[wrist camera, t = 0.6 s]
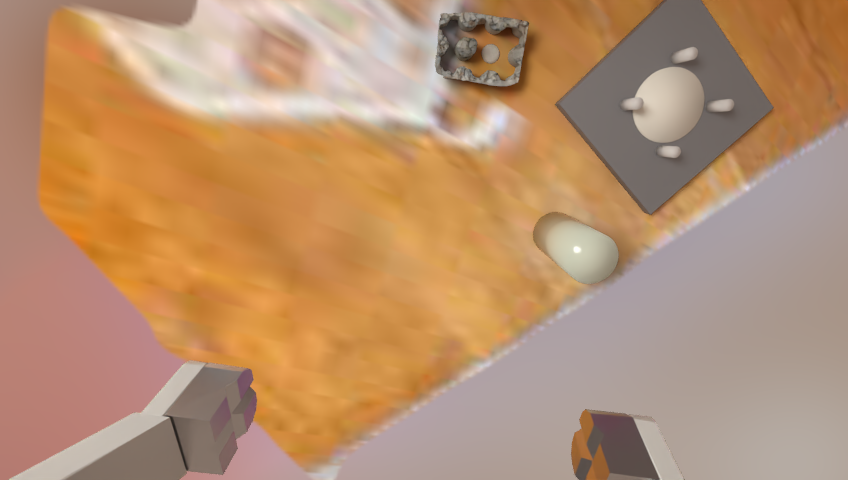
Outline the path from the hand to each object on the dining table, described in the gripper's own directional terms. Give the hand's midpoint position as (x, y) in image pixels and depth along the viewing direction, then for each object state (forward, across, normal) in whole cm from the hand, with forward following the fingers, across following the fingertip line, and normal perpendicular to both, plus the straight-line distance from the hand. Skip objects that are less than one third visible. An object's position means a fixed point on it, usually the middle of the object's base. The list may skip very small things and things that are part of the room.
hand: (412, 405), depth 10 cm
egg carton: (+50, -2, -6) cm, 50 cm away
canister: (+46, -16, +16) cm, 51 cm away
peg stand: (+51, -27, -1) cm, 58 cm away
